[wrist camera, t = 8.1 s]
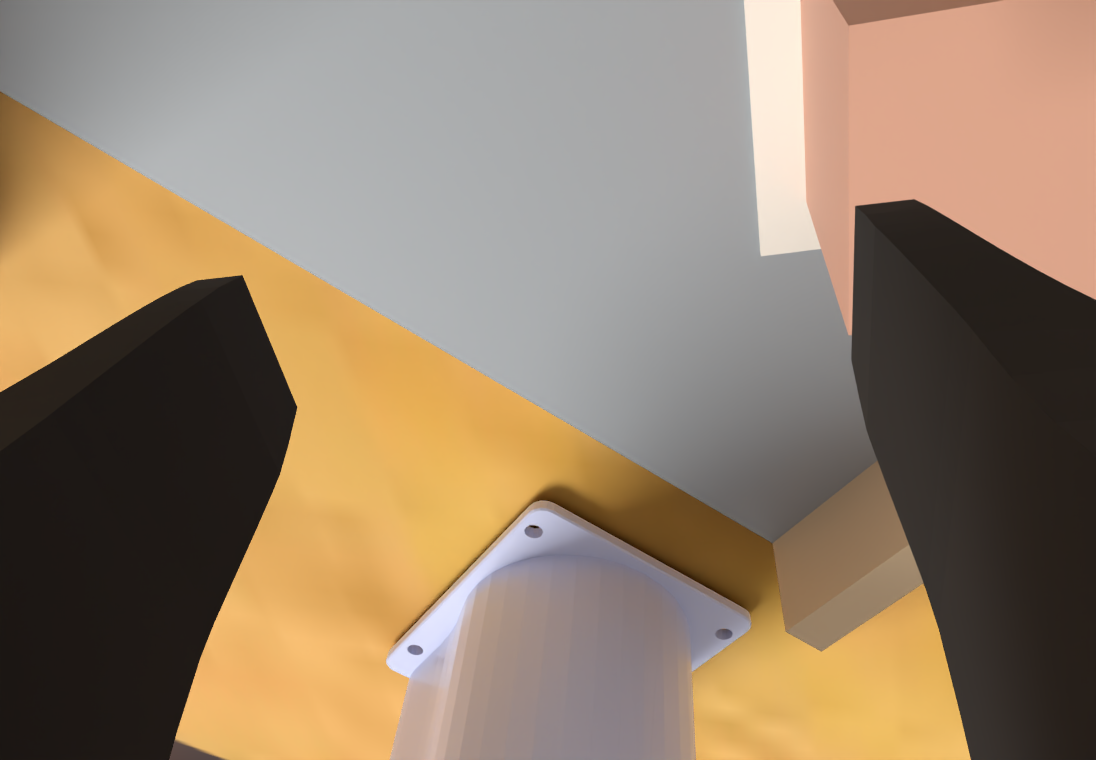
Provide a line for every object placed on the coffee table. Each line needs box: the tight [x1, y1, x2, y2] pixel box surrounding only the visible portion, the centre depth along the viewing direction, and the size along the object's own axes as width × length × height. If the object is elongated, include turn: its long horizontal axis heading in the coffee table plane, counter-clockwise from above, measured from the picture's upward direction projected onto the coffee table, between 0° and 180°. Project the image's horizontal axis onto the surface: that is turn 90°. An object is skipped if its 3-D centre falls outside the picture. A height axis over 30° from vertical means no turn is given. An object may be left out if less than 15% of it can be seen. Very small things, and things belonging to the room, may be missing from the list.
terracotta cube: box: [800, 0, 1096, 335], centre depth 15 cm, size 5×5×5 cm
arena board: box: [0, 0, 923, 651], centre depth 17 cm, size 18×24×4 cm
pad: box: [744, 0, 821, 256], centre depth 17 cm, size 7×7×1 cm
